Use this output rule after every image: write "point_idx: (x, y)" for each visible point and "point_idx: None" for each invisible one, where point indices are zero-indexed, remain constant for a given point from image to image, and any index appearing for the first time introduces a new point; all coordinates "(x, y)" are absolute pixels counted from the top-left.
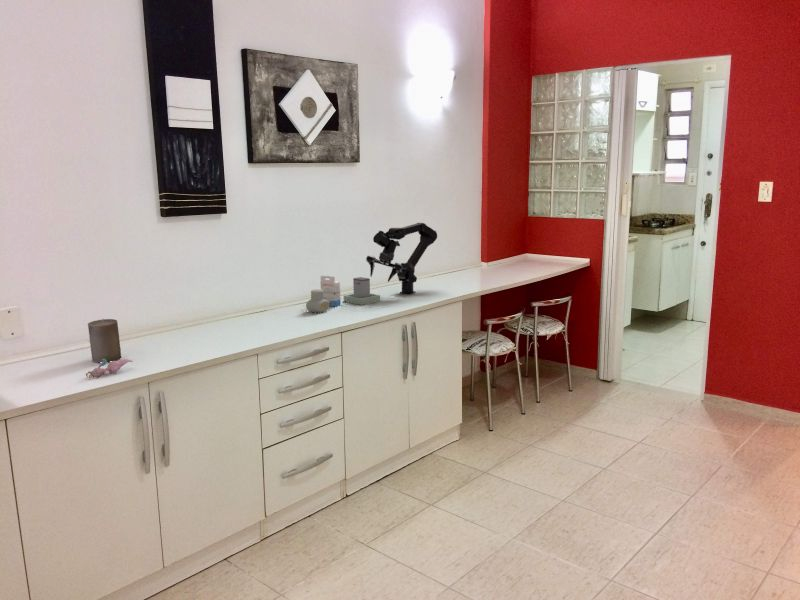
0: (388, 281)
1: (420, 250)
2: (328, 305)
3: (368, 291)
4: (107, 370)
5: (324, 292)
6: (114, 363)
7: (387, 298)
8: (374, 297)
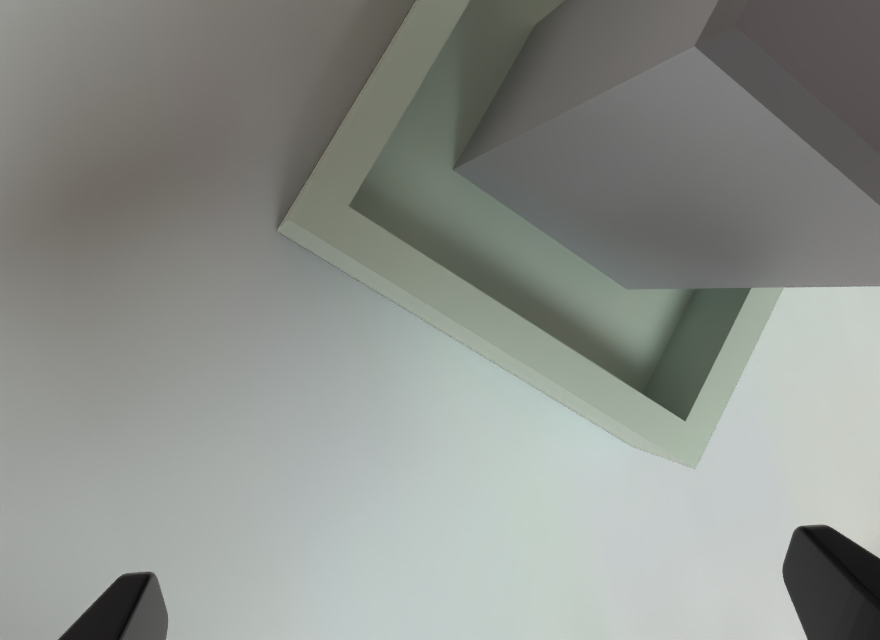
0: (126, 591)
1: None
2: None
3: (543, 96)
4: None
5: None
6: None
7: (212, 510)
8: (368, 85)
